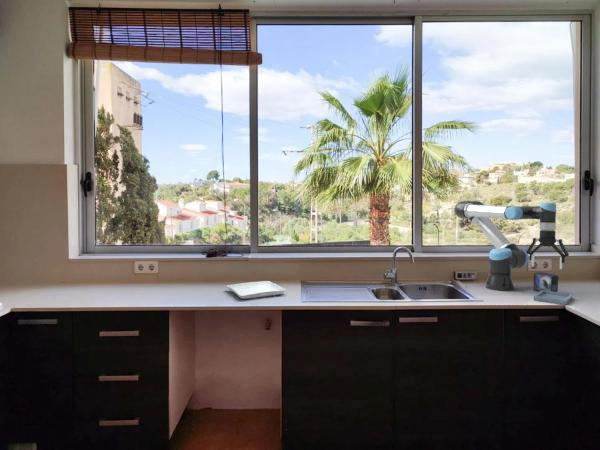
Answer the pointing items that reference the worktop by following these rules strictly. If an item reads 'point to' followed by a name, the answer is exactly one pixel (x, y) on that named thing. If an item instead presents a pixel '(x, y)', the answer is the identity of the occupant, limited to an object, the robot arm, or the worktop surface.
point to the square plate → (256, 289)
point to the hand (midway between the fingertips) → (546, 267)
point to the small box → (545, 282)
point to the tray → (553, 297)
